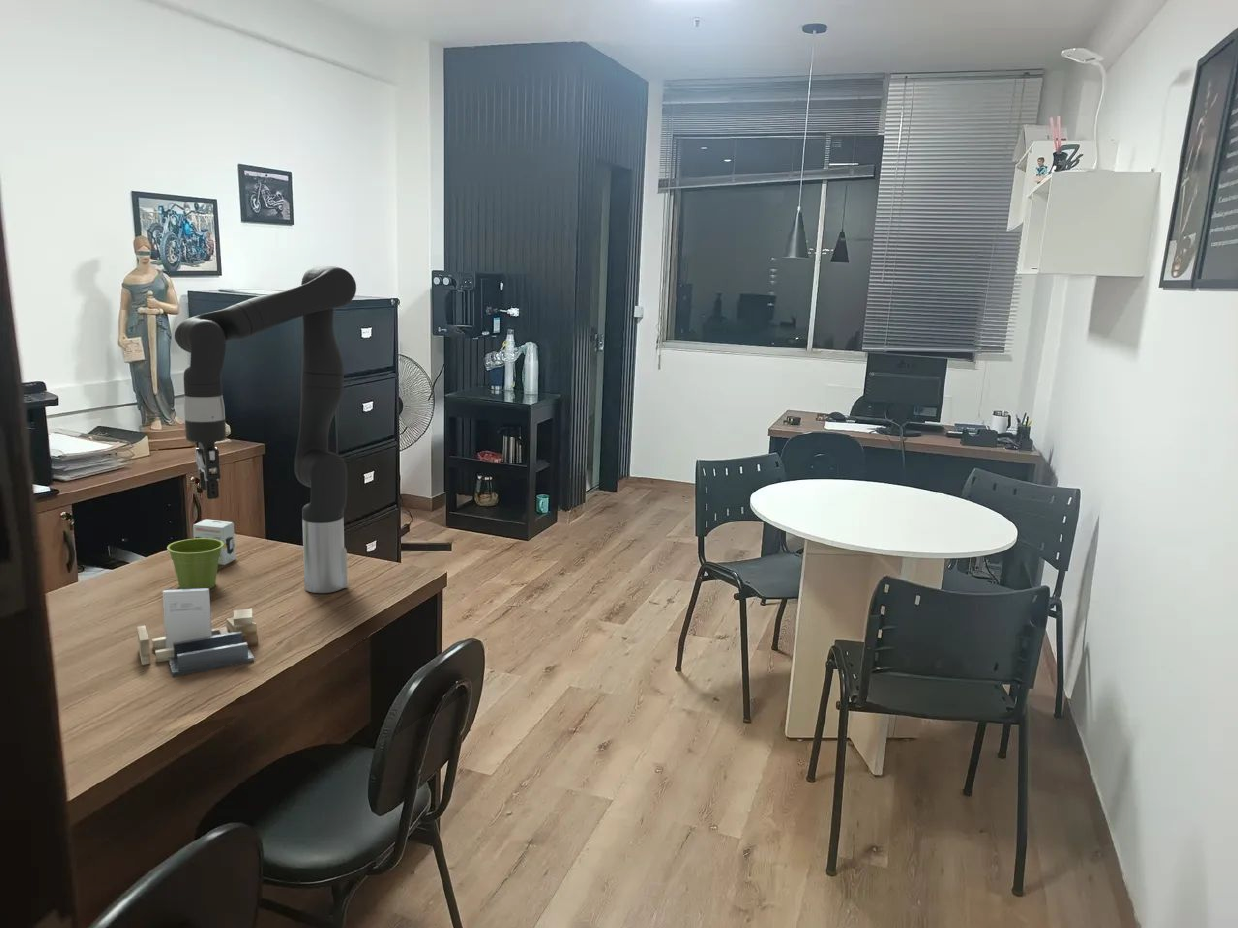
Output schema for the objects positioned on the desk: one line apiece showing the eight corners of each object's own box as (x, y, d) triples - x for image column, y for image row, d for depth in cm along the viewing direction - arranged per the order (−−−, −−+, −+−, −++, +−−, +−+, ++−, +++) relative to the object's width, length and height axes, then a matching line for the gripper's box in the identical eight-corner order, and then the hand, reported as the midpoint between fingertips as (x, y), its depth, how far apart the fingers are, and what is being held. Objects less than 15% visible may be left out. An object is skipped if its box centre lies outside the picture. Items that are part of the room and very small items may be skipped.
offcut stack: (251, 631, 179) (250, 605, 177) (258, 643, 173) (257, 617, 172) (226, 635, 176) (225, 609, 175) (232, 648, 170) (231, 621, 169)
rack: (226, 635, 176) (225, 612, 175) (232, 648, 170) (231, 625, 169) (138, 650, 167) (137, 626, 166) (142, 664, 161) (140, 640, 160)
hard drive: (168, 648, 169) (163, 589, 166) (212, 646, 171) (209, 587, 168) (166, 652, 167) (161, 592, 165) (211, 649, 169) (207, 590, 167)
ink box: (193, 569, 215) (191, 523, 212) (206, 563, 219) (203, 518, 217) (225, 572, 213) (222, 526, 211) (236, 566, 218) (234, 521, 216)
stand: (247, 647, 171) (246, 629, 170) (253, 661, 165) (253, 643, 164) (168, 661, 163) (167, 643, 162) (172, 676, 157) (171, 657, 157)
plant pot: (204, 602, 193) (202, 554, 191) (158, 596, 195) (154, 549, 193) (236, 585, 205) (234, 540, 202) (192, 580, 207) (189, 535, 204)
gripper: (230, 421, 171) (235, 499, 175) (219, 411, 183) (223, 484, 186) (189, 423, 167) (194, 503, 171) (180, 413, 179) (185, 488, 182)
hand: (209, 493), depth 178 cm, fingers open, 8 cm apart
